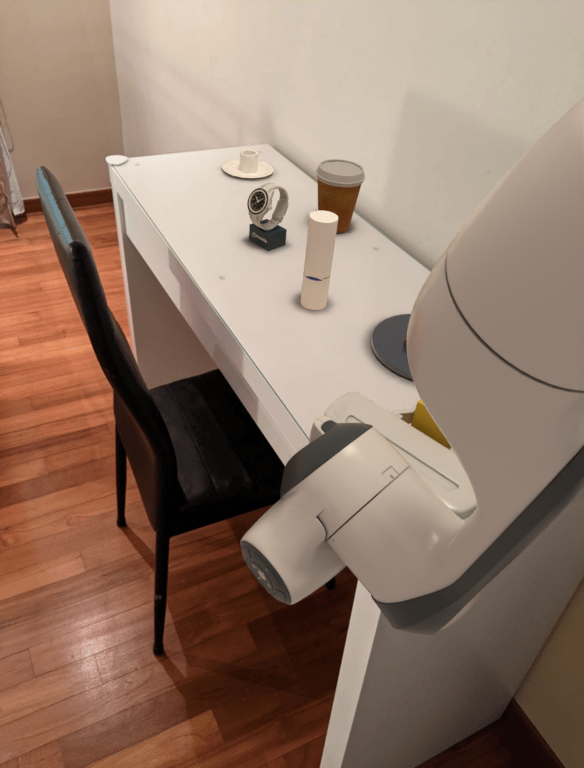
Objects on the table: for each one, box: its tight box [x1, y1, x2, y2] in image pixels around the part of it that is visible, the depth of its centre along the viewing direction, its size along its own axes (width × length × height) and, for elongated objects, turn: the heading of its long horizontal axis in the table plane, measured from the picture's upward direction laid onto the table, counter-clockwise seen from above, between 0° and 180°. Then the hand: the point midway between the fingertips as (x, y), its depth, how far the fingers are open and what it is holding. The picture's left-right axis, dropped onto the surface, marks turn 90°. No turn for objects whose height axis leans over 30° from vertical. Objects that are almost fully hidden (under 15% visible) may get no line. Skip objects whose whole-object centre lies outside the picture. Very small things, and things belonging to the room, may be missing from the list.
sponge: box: [410, 398, 451, 450], centre depth 72 cm, size 5×4×9 cm
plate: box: [370, 313, 413, 381], centre depth 92 cm, size 17×17×1 cm
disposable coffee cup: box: [315, 158, 366, 234], centre depth 119 cm, size 10×10×12 cm
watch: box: [246, 182, 290, 252], centre depth 112 cm, size 6×8×11 cm
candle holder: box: [221, 149, 274, 179], centre depth 141 cm, size 12×12×4 cm
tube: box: [300, 210, 338, 311], centre depth 95 cm, size 4×4×15 cm
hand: (441, 423), depth 72 cm, fingers closed on sponge, 4 cm apart
